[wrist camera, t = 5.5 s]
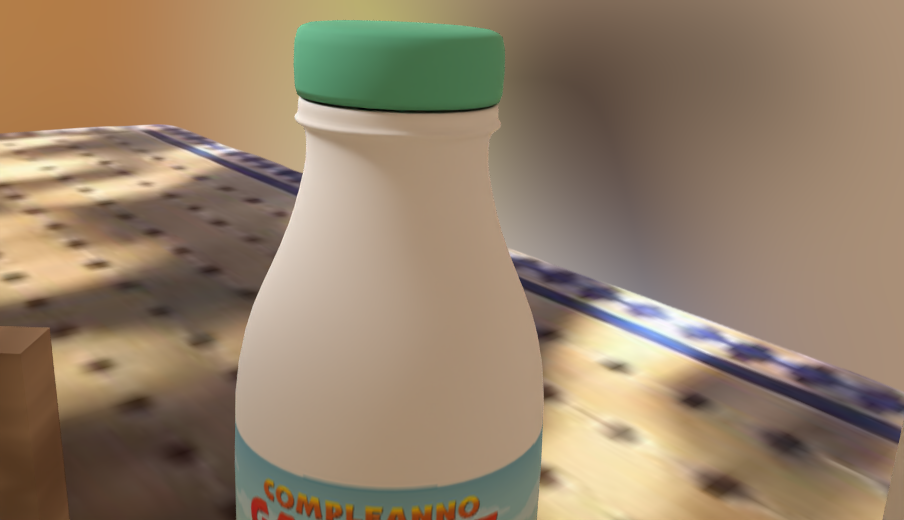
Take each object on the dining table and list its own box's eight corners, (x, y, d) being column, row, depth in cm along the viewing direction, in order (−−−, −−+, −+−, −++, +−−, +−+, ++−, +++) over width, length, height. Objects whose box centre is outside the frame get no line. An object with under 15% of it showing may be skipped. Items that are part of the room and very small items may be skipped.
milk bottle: (248, 657, 27) (227, 10, 21) (482, 633, 29) (524, 22, 23) (238, 898, 20) (202, 25, 14) (550, 849, 22) (637, 41, 16)
